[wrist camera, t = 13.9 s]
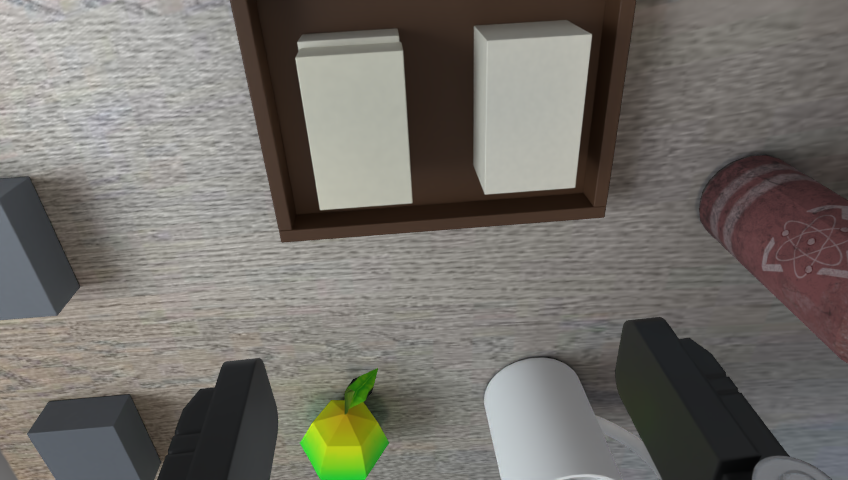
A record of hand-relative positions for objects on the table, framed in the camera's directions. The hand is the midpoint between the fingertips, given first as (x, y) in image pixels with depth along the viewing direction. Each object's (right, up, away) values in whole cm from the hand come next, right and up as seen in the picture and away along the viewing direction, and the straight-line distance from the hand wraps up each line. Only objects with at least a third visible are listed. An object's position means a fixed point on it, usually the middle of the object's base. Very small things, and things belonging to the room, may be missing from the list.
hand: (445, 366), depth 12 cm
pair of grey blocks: (-26, -5, +26) cm, 37 cm away
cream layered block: (-4, +10, +18) cm, 21 cm away
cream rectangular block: (+5, +11, +19) cm, 22 cm away
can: (+21, +6, +24) cm, 32 cm away
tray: (0, +11, +19) cm, 22 cm away
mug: (+10, -10, +32) cm, 35 cm away
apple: (-7, -10, +31) cm, 33 cm away
